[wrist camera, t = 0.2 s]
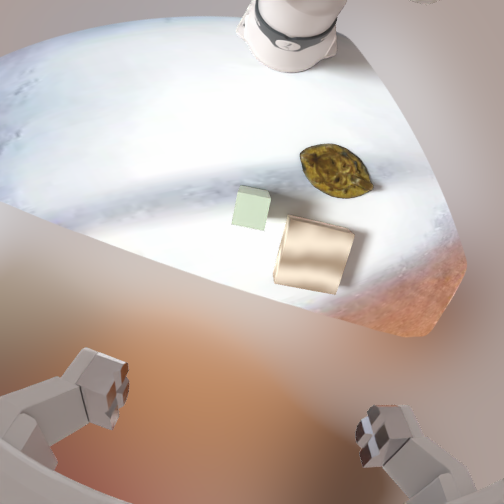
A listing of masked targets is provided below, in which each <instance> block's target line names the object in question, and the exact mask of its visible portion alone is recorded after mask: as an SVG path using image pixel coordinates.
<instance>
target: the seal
mask: <svg viewBox="0 0 504 504" xmlns="http://www.w3.org/2000/svg"><path fill="white" fill-rule="evenodd" d="M300 159H301V163H302V167H303V171H304V173H305V175H306V177H307V179H308V180H309V182H310V183H311V184H312V185H313V186H314V187H316V188H317V189H319V190H320V191H322V192H323V193H325V194H328V195H330V196H332V197H337V198H345V199H347V198H354V197H357V196H360V195H362V194H364V193H366V192H369V191H371V190H372V189H373V184H372V183H370V179H369V175H368V172H367V170H366V168H365V166H364V165H363V163H362V161H361V160H360V159H359V158H358V157H357V156H355V155H354V154H353V153H351V152H350V151H349V150H347V149H346V148H344V147H341V146H339V145H335V144H320V145H315V146H311V147H308V148H306V149H304V150H303V151H302V152H301V153H300Z"/></svg>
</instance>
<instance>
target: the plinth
mask: <svg viewBox="0 0 504 504" xmlns="http://www.w3.org/2000/svg"><path fill="white" fill-rule="evenodd" d="M354 237H355V234H354V233H352V232H351V231H350V230H349V229H347V228H344V227H340V226H336V225H331V224H327V223H323V222H319V221H315V220H311V219H306V218H302V217H298V216H293V215H289V214H288V215H287V220H286V224H285V228H284V232H283V236H282V239H281V243H280V247H279V251H278V255H277V259H276V263H275V267H274V271H273V278H274V283H275V284H280V285H285V286H290V287H296V288H301V289H307V290H312V291H318V292H323V293H329V294H334V295H336V292H337V289H338V286H339V283H340V280H341V277H342V274H343V271H344V268H345V265H346V262H347V259H348V256H349V253H350V250H351V246H352V243H353V240H354Z"/></svg>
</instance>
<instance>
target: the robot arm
mask: <svg viewBox="0 0 504 504" xmlns="http://www.w3.org/2000/svg"><path fill="white" fill-rule="evenodd" d="M410 1H413V2H417V3H420V4H430V3H435V2H437V1H440V0H410ZM346 2H347V0H252V2H251V4H250V5H249V6H248V9H247V10H246V12H245V14H244V16H243V17H242V19H241V21H240V23H239V25H238V26H237V28H236V33H237V35H238V36H239V37H240V38H241V39H243V40H244V41H245V42H246V43H247V45H248V46H249V49H250V51H251V52H252V54H253V55H254V57H255V58H256V59H257V60H258V61H259V62H261V63H262V64H263V65H265V66H267V67H268V68H271V69H273V70H276V71H280V72H288V73H292V72H300V71H304V70H307V69H309V68H311V67H312V66H314V65H315V64H316V63H318V62H319V61H320V60H322V59H325V58H330V57H333V56H334V55H335V54H336V52H337V39H336V25H335V24H336V21H337V16H338V14H339V13H340V12H341V10H342V9H343V7H344V5H345V4H346ZM243 25H245V27H243ZM128 371H129V370H128V363H126V362H124V361H121V360H118V359H115V358H113V357H110V356H108V355H105V354H102V353H100V352H97V351H94V350H92V349H89V348H87V347H86V348H84V349H82V350H81V351H80V353H79V354H78V356H77V357H76V358H75V359H74V361H73V362H72V363H71V365H70V366H69V367H68V369H67V370H66V372H65V373H64V374H63V376H62V377H61V378H60V377H58V376H57V377H54V378H51V379H48V380H46V381H43V382H40V383H38V384H35V385H32V386H29V387H26V388H24V389H21V390H18V391H15V392H12V393H9V394H6V395H3V396H1V397H0V504H132V503H129V502H125V501H123V500H120V499H117V498H114V497H112V496H109V495H106V494H104V493H101V492H99V491H96V490H94V489H91V488H89V487H87V486H85V485H82V484H80V483H78V482H76V481H74V480H71V479H69V478H67V477H65V476H63V475H61V474H59V473H57V472H55V471H54V469H55V467H56V465H57V463H58V462H57V459H56V457H55V455H54V454H53V452H52V450H51V449H50V446H51V445H53V444H55V443H56V442H58V441H60V440H62V439H63V438H65V437H67V436H68V435H70V434H72V433H73V432H75V431H76V430H78V429H80V428H82V427H83V426H85V425H86V424H88V423H89V422H91V423H93V424H96V425H99V426H101V427H104V428H107V429H110V430H113V428H114V426H115V424H116V422H117V419H118V417H119V410H118V409H119V408H121V407H122V406H124V404H125V402H126V400H127V396H128V392H129V380H128V378H127V377H126V375H127V373H128ZM367 414H368V416H367V417H365V418H363V419H362V420H361V421H360V422H359V424H358V425H357V429H356V433H355V438H356V442H357V444H358V445H359V446H360V447H361V448H362V449H361V451H360V452H359V454H360V459H361V462H362V466H363V467H380V466H383V467H382V468H383V469H384V470H385V471H386V472H387V474H388V475H389V476H390V477H391V478H392V479H393V480H394V482H395V483H396V484H397V485H398V486H399V487H400V488H401V490H402V491H403V492H404V493H405V494H406V495H407V496H408V497H409V498H410V499H409V500H408V501H406V502H405V503H403V504H504V478H503V479H501V480H499V481H498V482H495V483H494V484H491V485H489V486H487V487H485V488H482V489H480V490H478V491H477V490H476V487H475V485H474V483H473V480H472V478H471V476H470V473H469V471H468V469H467V467H466V466H465V465H464V464H462V463H461V462H460V461H458V460H457V459H456V458H455V457H453V456H452V455H451V454H449V453H448V452H447V451H445V450H444V449H443V448H442V447H441V446H439V445H438V444H437V443H435V442H434V441H433V440H431V439H430V438H429V437H427V436H424V434H423V432H422V429H421V427H420V425H419V423H418V421H417V418H416V416H415V415H414V412H413V410H412V408H411V407H410V406H409V405H373V406H372V407H370V408H369V410H368V411H367Z"/></svg>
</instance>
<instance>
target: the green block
mask: <svg viewBox="0 0 504 504" xmlns="http://www.w3.org/2000/svg"><path fill="white" fill-rule="evenodd" d="M270 202H271V197H270V195H269V193H268V191H266V190H262V189H257V188H252V187H247V186H242V185H240V188H239V190H238V194H237V199H236V204H235V209H234V214H233V219H232V225H238V226H243V227H248V228H253V229H258V230H262V231H264V228H265V224H266V220H267V215H268V211H269V206H270Z"/></svg>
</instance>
